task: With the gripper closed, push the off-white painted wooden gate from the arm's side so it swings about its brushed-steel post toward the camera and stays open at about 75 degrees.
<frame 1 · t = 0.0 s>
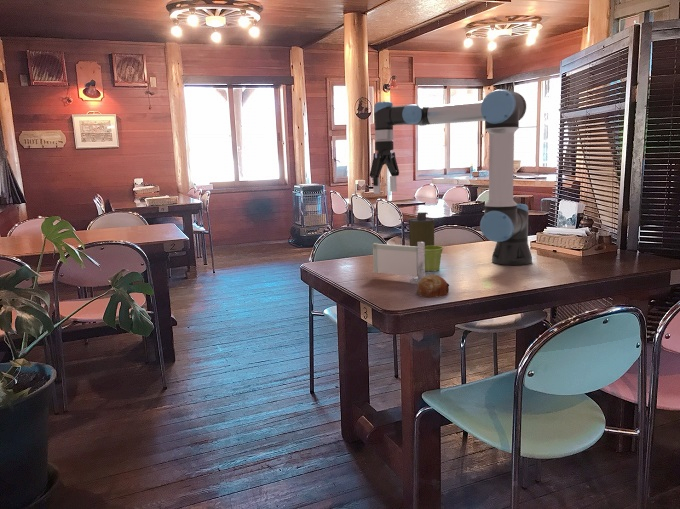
hand: (385, 192, 233), 28 cm above the table, fingers open, 13 cm apart
plant pot: (431, 270, 211), on the table
canister: (421, 261, 229), on the table
bread roll: (433, 294, 177), on the table
gate: (395, 259, 196), point 7 cm above the table, hinge at 0.0°
gate post: (421, 282, 192), on the table
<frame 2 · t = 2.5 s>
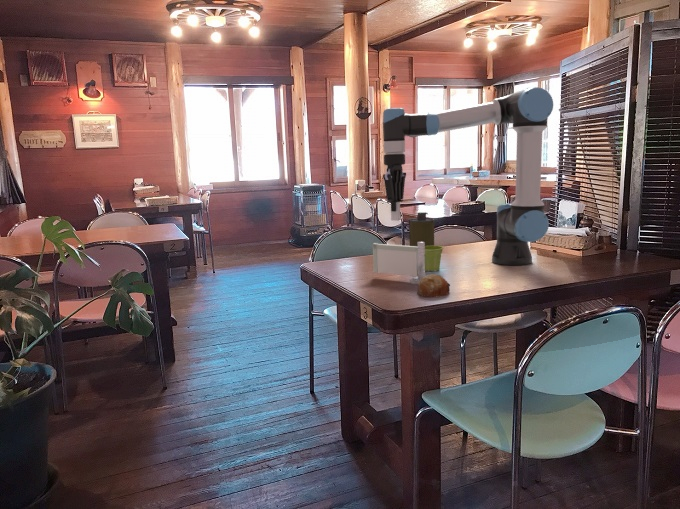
hand: (395, 220, 201), 20 cm above the table, fingers closed
nothing on the table moved.
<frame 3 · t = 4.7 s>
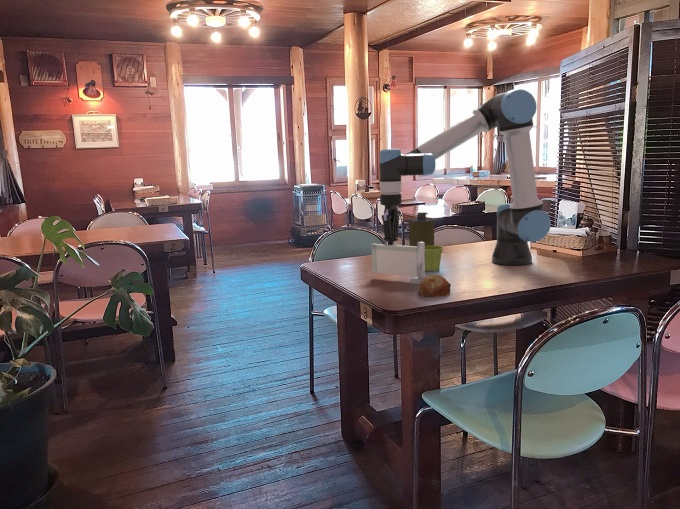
hand: (391, 259, 201), 7 cm above the table, fingers closed
gate: (394, 259, 196), point 7 cm above the table, hinge at 2.4°, touching gripper
everything else where it was.
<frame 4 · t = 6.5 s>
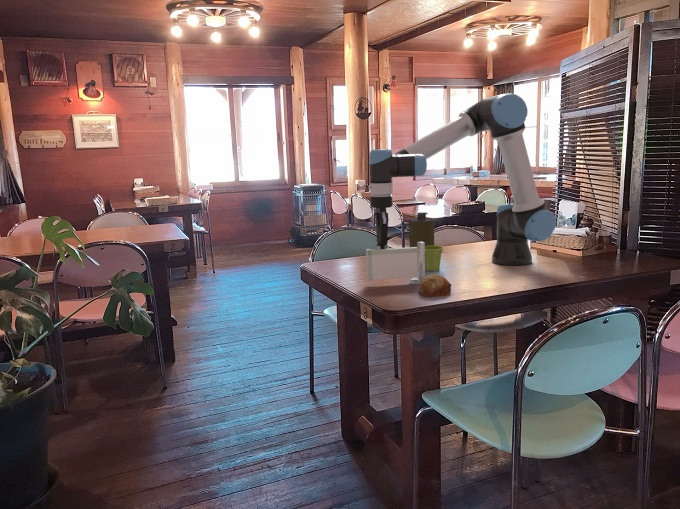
hand: (382, 263, 193), 7 cm above the table, fingers closed
gate: (392, 263, 190), point 7 cm above the table, hinge at 41.1°, touching gripper
everything else where it was.
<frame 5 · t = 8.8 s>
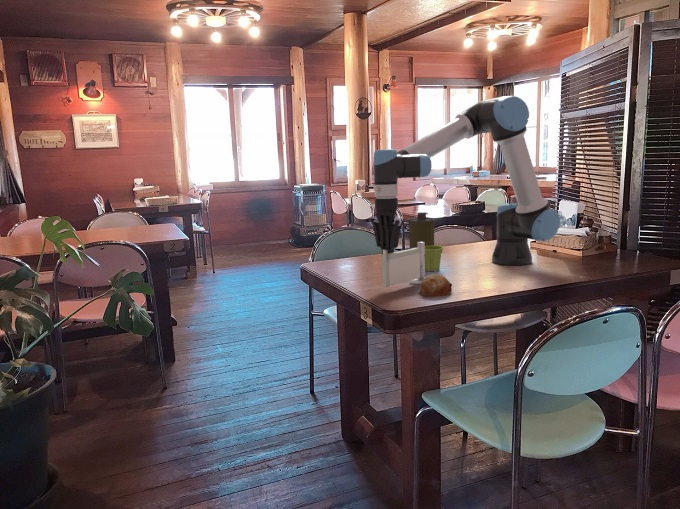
hand: (387, 268, 185), 7 cm above the table, fingers closed
gate: (401, 266, 184), point 7 cm above the table, hinge at 78.1°
everything else where it was.
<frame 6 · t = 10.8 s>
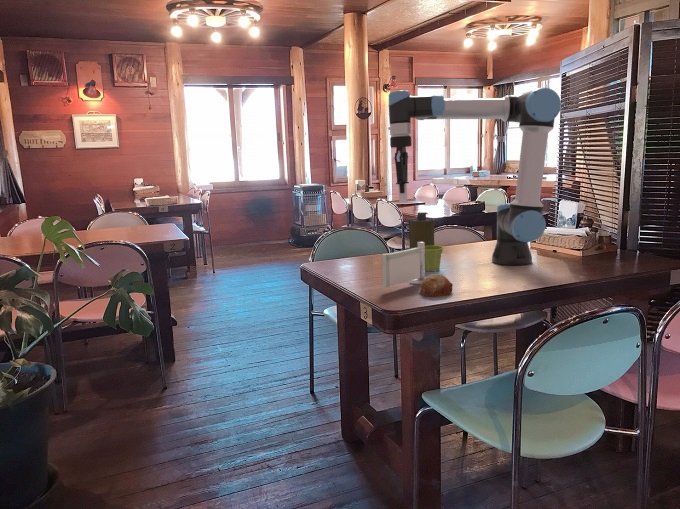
hand: (403, 202, 203), 27 cm above the table, fingers closed
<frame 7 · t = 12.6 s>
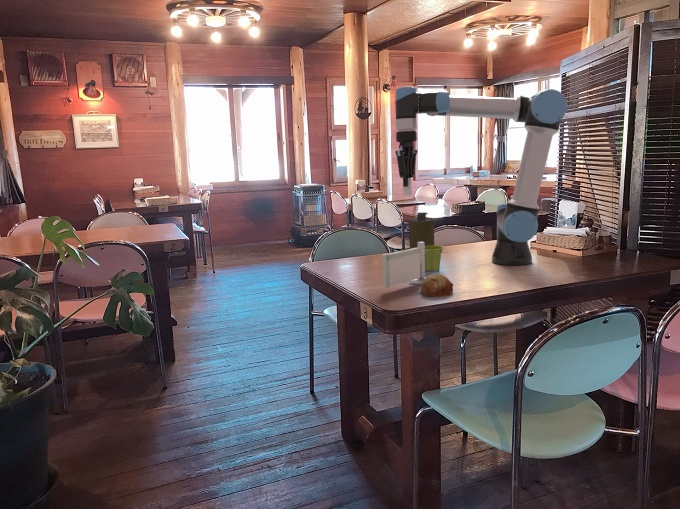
hand: (407, 195, 209), 28 cm above the table, fingers closed
at the end: gate at +78° (first picture: +0°); plant pot moved 0.2 cm from its start; bread roll moved 1.5 cm from its start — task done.
